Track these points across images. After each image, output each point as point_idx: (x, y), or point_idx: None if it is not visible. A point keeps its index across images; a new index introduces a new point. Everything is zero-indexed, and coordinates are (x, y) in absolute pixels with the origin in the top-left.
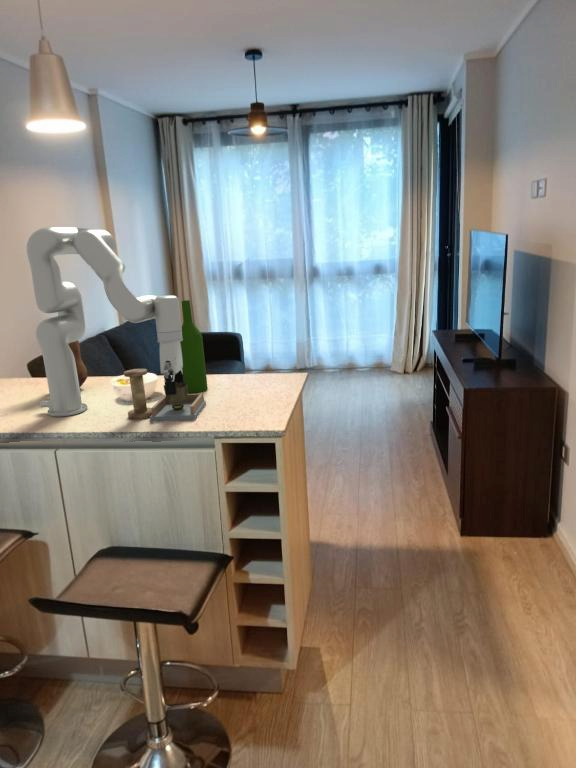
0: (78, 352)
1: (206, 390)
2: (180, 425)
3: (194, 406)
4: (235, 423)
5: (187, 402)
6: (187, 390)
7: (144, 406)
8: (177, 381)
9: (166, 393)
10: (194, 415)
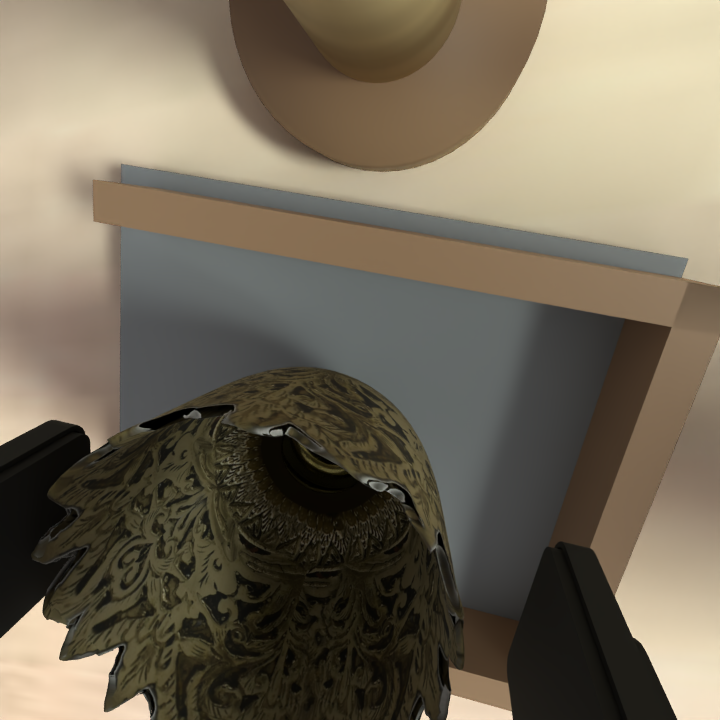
0: None
1: None
2: (34, 427)
3: None
4: (42, 713)
5: (553, 514)
6: (285, 673)
7: (316, 42)
8: (549, 674)
9: (46, 432)
10: None
